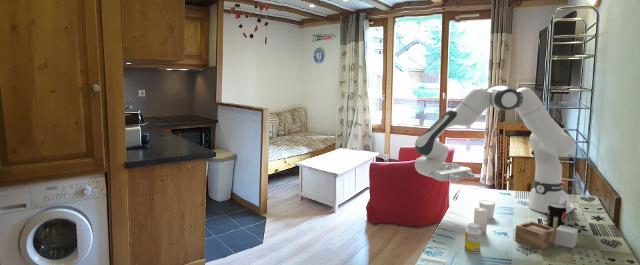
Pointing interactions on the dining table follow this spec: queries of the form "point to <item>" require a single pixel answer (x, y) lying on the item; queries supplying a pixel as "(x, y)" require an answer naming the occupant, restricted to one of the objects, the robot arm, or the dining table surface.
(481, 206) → the shot glass
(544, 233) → the brown wooden open box
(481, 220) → the white pillar candle
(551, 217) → the beverage can
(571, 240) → the grey block
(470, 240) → the supplement bottle
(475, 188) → the dining table surface
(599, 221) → the dining table surface
